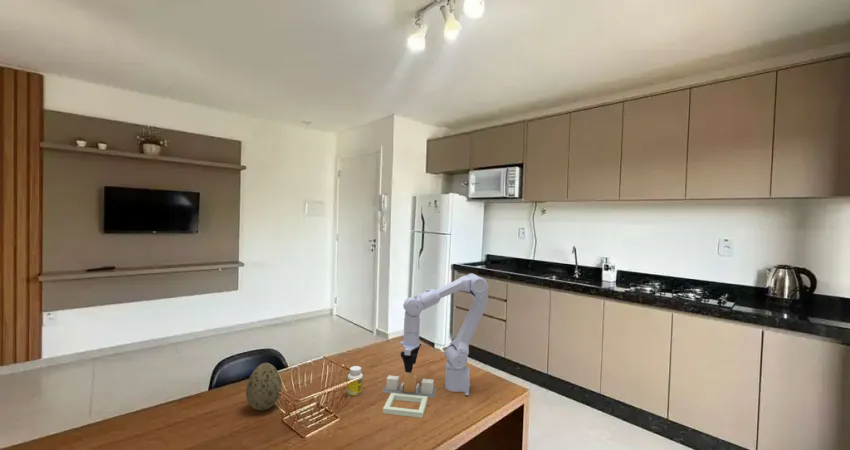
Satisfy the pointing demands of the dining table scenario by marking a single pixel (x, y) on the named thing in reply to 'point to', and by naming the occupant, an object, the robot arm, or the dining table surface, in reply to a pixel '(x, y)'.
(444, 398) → the dining table surface
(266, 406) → the decorative egg
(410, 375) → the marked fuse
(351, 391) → the supplement bottle
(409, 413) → the tray
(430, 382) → the block
